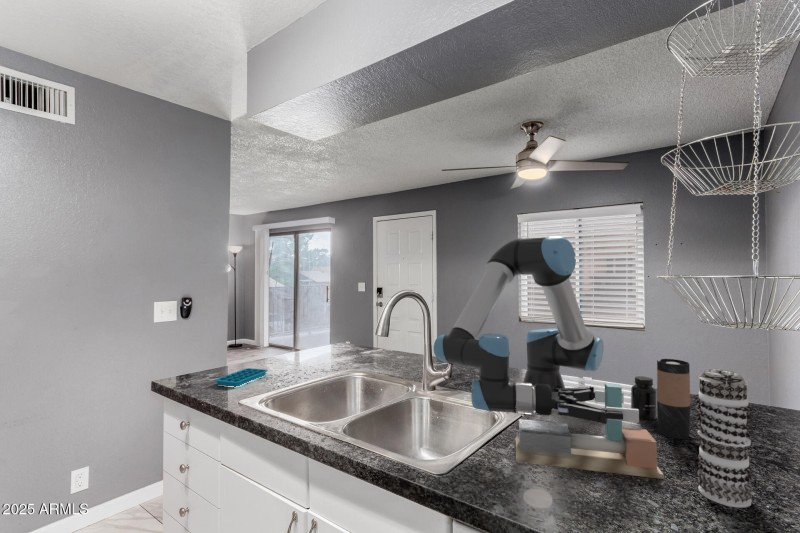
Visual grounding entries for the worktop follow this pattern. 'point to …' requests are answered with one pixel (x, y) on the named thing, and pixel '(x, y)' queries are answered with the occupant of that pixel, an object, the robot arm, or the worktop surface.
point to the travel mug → (673, 398)
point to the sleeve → (544, 438)
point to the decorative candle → (724, 438)
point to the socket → (639, 448)
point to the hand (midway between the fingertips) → (630, 406)
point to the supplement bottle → (644, 398)
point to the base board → (590, 462)
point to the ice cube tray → (240, 377)
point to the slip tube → (612, 428)
